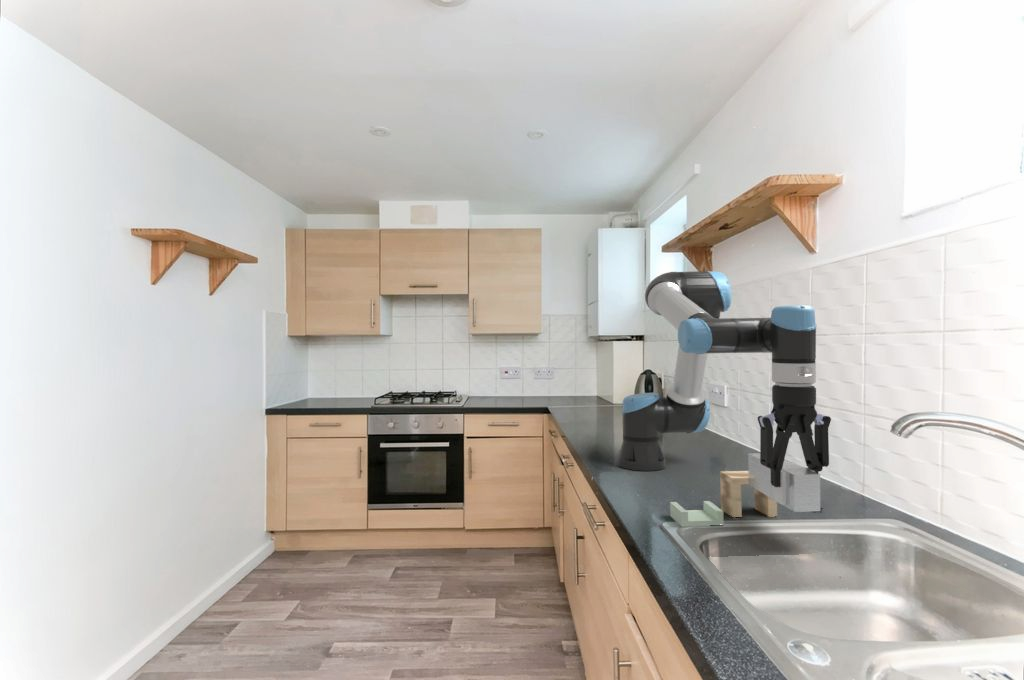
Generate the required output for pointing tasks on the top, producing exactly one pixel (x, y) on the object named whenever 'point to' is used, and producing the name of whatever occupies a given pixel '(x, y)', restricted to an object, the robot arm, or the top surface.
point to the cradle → (697, 515)
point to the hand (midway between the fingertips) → (794, 502)
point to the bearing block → (732, 495)
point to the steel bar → (787, 484)
